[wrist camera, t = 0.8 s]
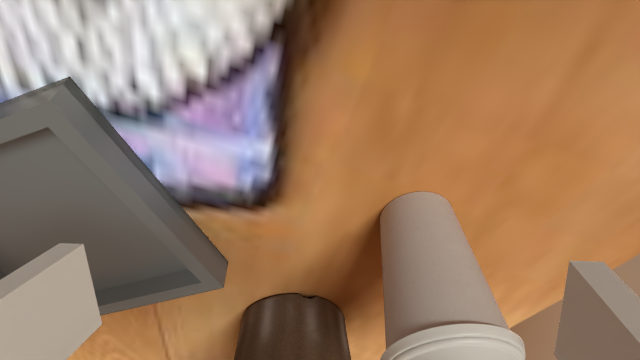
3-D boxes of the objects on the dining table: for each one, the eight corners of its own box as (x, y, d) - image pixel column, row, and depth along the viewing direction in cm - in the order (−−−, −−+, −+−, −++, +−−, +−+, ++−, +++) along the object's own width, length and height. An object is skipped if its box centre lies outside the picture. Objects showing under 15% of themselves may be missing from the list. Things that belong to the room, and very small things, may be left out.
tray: (-160, 164, 32) (-194, 191, 30) (69, 76, 28) (49, 101, 26) (52, 303, 47) (39, 329, 45) (228, 261, 42) (223, 287, 40)
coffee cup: (413, 261, 42) (449, 425, 31) (341, 223, 38) (353, 397, 27) (491, 209, 37) (567, 384, 26) (418, 160, 33) (471, 342, 22)
